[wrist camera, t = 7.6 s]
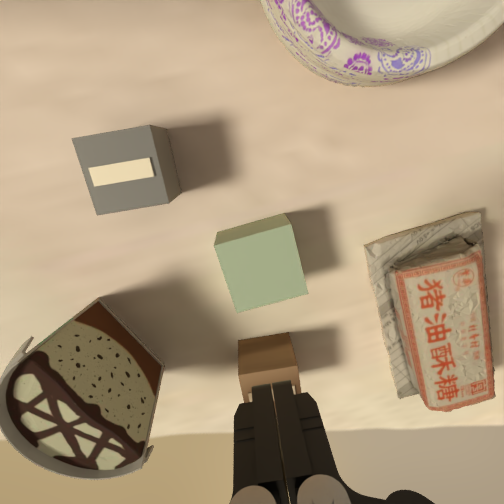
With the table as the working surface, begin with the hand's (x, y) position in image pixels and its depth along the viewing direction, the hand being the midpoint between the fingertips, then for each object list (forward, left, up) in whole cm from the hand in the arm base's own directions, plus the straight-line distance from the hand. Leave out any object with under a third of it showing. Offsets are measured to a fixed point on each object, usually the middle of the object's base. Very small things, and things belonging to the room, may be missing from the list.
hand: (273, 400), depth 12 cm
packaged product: (+9, +16, -18) cm, 25 cm away
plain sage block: (0, +1, -17) cm, 17 cm away
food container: (+7, -15, -17) cm, 24 cm away
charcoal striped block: (-9, -7, -17) cm, 21 cm away
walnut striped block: (+11, 0, -17) cm, 21 cm away
